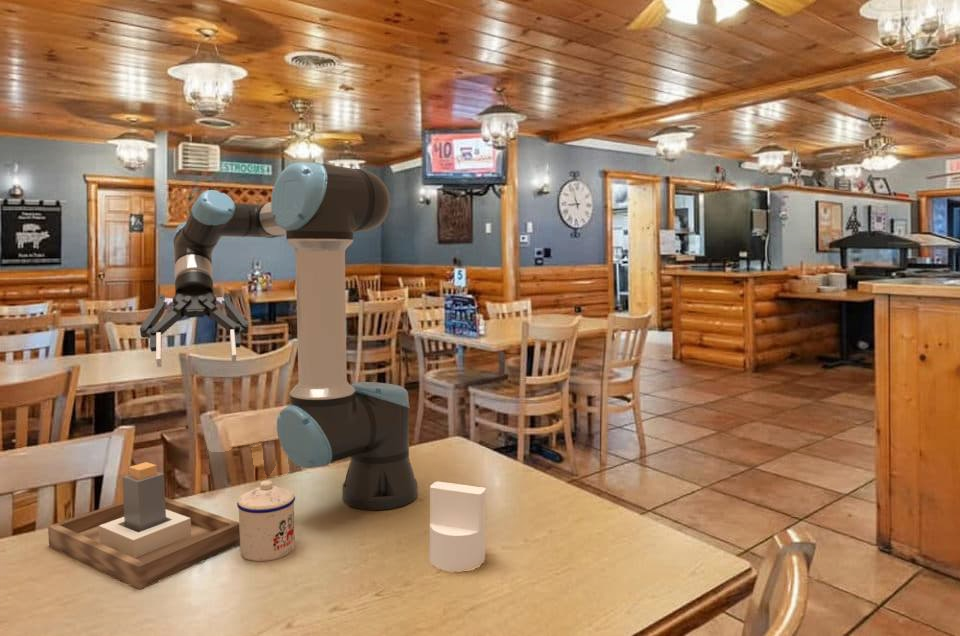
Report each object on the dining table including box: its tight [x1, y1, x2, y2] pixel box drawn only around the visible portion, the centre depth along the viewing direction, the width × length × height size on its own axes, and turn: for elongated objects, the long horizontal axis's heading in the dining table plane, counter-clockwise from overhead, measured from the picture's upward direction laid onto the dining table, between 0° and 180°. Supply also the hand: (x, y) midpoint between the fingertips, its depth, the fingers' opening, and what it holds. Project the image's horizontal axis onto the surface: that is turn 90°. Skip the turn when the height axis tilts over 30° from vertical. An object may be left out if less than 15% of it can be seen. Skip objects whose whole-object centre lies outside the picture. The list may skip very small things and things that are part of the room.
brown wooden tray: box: [47, 496, 240, 591], centre depth 109 cm, size 26×18×4 cm
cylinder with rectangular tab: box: [429, 480, 487, 573], centre depth 105 cm, size 9×9×12 cm
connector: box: [122, 461, 166, 532], centre depth 109 cm, size 4×4×13 cm
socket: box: [99, 510, 191, 558], centre depth 109 cm, size 10×10×3 cm
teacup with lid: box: [236, 480, 296, 562], centre depth 109 cm, size 12×9×12 cm
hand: (197, 361), depth 128 cm, fingers open, 13 cm apart
